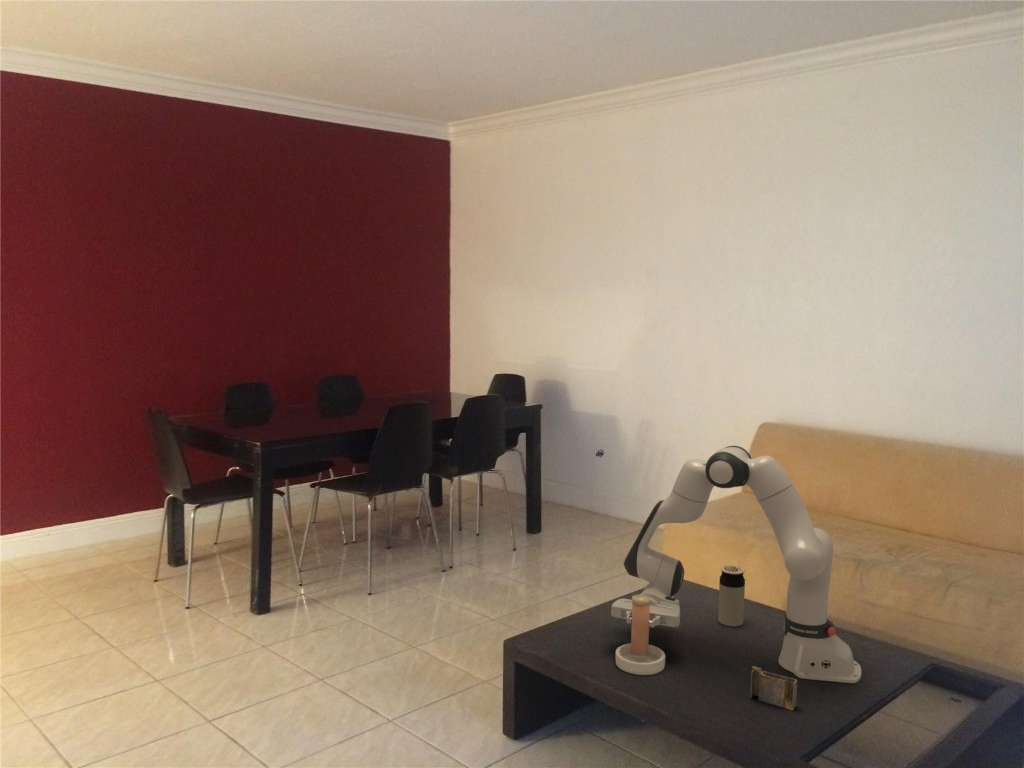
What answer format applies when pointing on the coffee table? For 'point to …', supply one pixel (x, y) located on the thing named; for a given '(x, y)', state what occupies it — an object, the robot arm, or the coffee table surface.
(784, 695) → the brown piece
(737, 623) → the travel mug
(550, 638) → the coffee table surface
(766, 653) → the coffee table surface
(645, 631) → the bead jar
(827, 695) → the coffee table surface
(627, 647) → the round tray
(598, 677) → the coffee table surface
